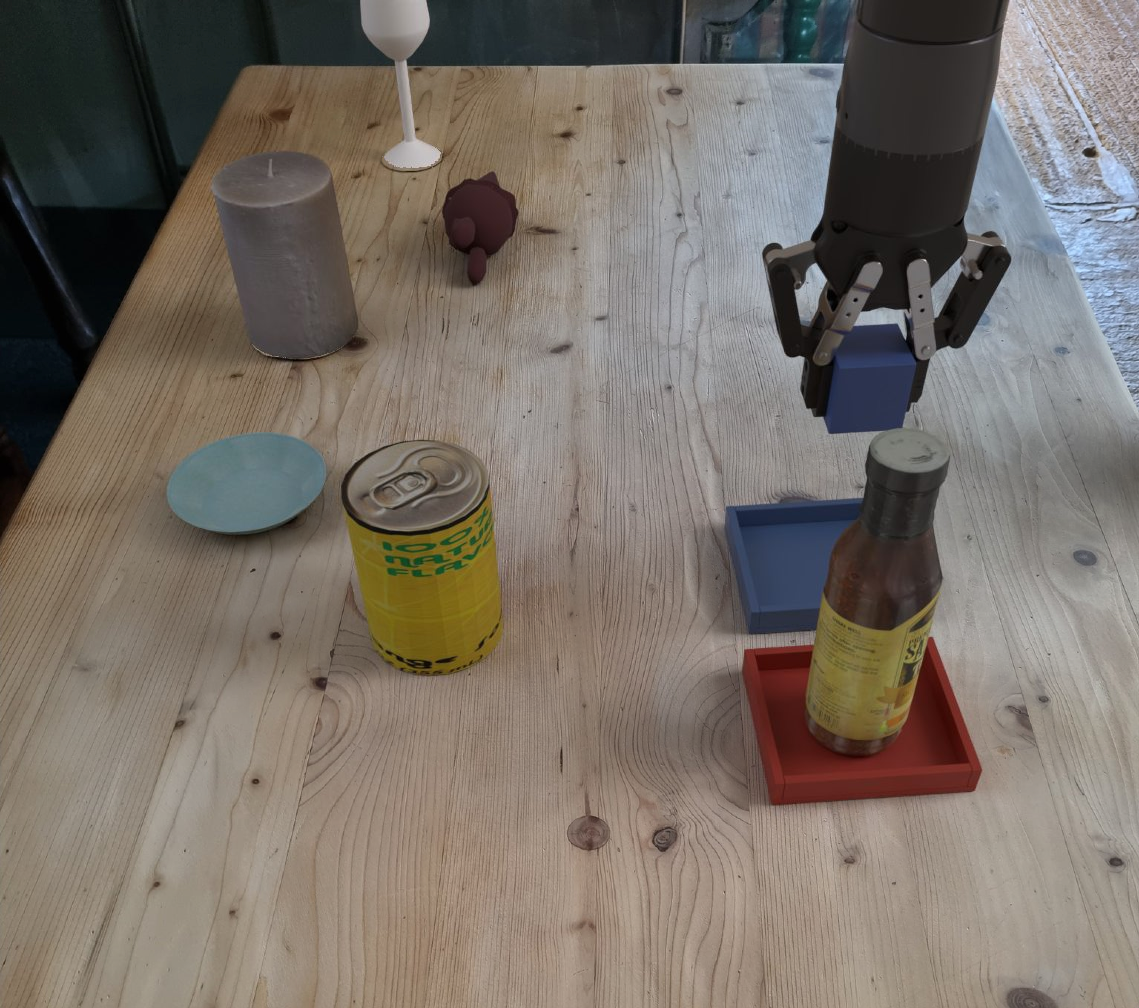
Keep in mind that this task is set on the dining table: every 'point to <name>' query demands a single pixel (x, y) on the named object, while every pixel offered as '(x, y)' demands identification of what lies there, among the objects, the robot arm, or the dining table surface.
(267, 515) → the saucer
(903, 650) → the sauce bottle
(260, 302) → the pillar candle
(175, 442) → the dining table surface
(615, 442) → the dining table surface
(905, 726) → the red tray
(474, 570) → the beverage can
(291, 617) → the dining table surface
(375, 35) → the champagne flute
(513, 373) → the dining table surface
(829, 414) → the blue block
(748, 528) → the blue tray
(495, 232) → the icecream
